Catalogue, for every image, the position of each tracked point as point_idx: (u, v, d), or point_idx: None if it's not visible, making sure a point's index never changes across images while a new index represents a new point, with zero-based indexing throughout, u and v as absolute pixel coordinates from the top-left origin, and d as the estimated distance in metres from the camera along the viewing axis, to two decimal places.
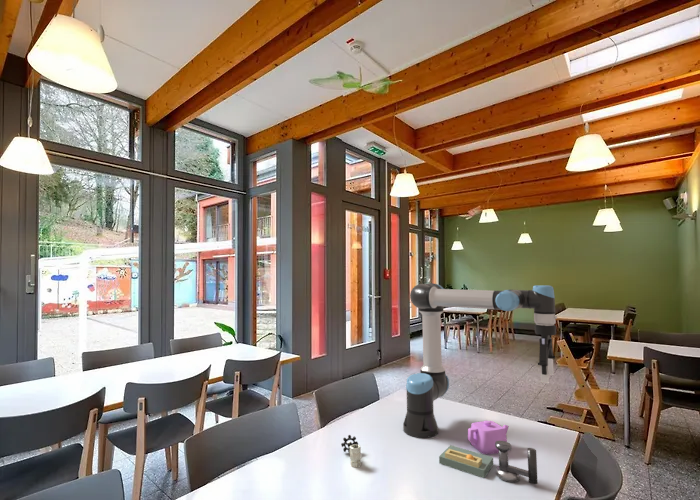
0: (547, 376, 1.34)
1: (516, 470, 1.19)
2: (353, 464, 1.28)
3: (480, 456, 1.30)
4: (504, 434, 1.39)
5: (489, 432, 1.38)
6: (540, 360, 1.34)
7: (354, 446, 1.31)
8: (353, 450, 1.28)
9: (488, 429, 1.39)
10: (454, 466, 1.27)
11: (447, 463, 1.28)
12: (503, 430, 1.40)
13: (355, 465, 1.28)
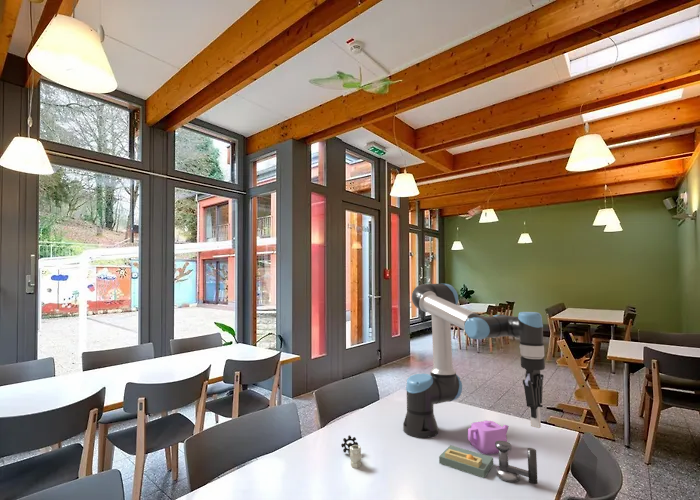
0: None
1: (516, 470, 1.19)
2: (353, 465, 1.27)
3: (480, 456, 1.30)
4: (504, 434, 1.39)
5: (489, 432, 1.38)
6: None
7: (354, 447, 1.30)
8: (353, 451, 1.28)
9: (488, 429, 1.39)
10: (454, 466, 1.27)
11: (447, 463, 1.28)
12: (503, 430, 1.40)
13: (355, 466, 1.27)
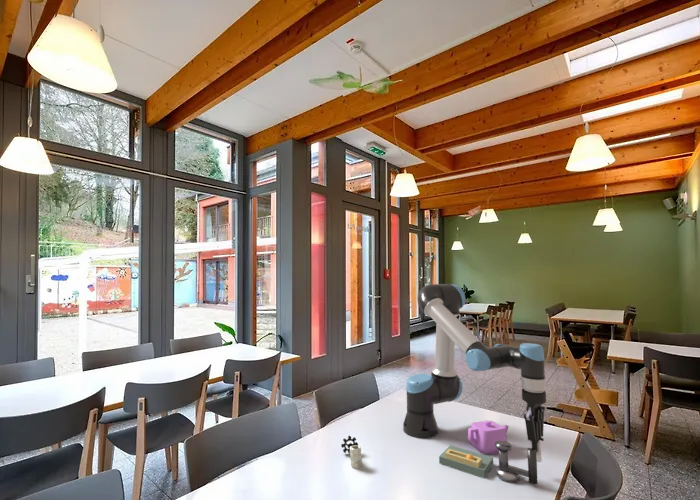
0: None
1: (516, 470, 1.19)
2: (353, 465, 1.27)
3: (480, 456, 1.30)
4: (504, 434, 1.39)
5: (489, 432, 1.38)
6: None
7: (354, 447, 1.30)
8: (353, 451, 1.28)
9: (488, 429, 1.39)
10: (454, 466, 1.27)
11: (447, 463, 1.28)
12: (503, 430, 1.39)
13: (355, 466, 1.27)
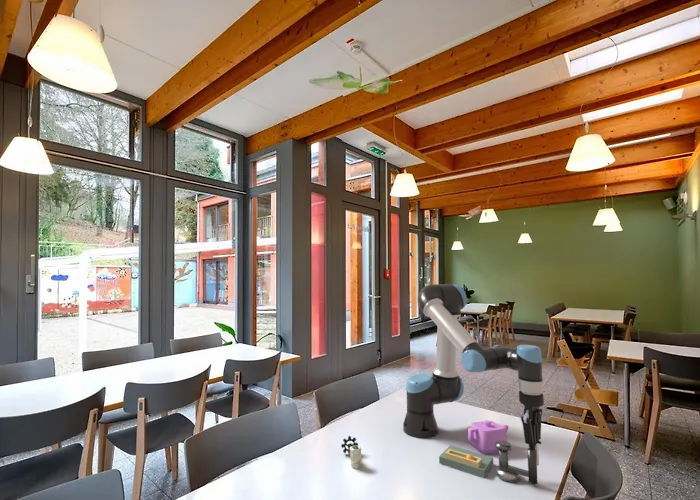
0: None
1: (516, 470, 1.19)
2: (354, 465, 1.27)
3: (480, 456, 1.30)
4: (504, 434, 1.39)
5: (489, 432, 1.38)
6: None
7: (354, 447, 1.30)
8: (354, 451, 1.27)
9: (488, 429, 1.39)
10: (454, 466, 1.27)
11: (447, 463, 1.28)
12: (503, 430, 1.39)
13: (355, 466, 1.27)
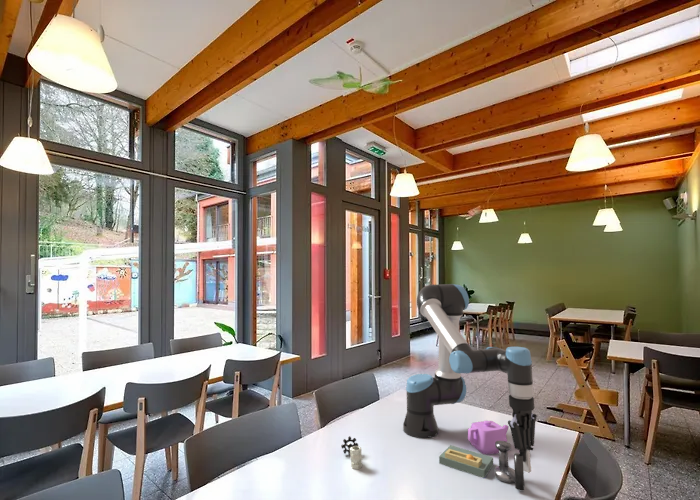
0: None
1: (508, 472, 1.18)
2: (354, 466, 1.27)
3: (480, 456, 1.30)
4: (504, 434, 1.39)
5: (489, 432, 1.38)
6: None
7: (355, 448, 1.30)
8: (354, 452, 1.27)
9: (488, 429, 1.39)
10: (454, 466, 1.27)
11: (447, 463, 1.28)
12: (503, 430, 1.39)
13: (356, 467, 1.26)
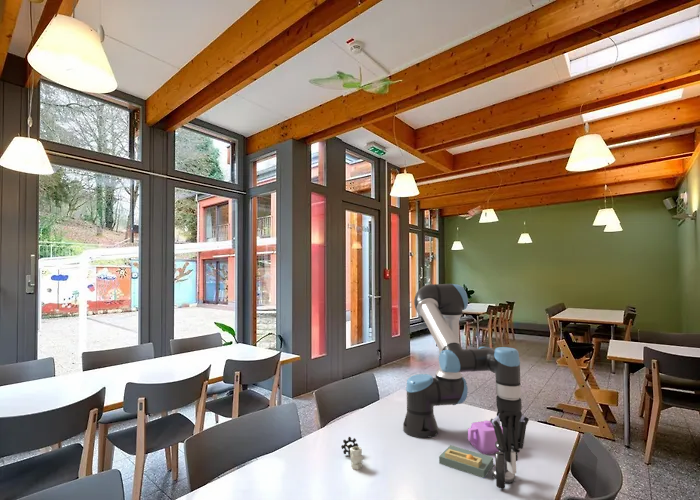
0: None
1: None
2: (354, 466, 1.26)
3: (480, 456, 1.30)
4: None
5: (489, 432, 1.38)
6: None
7: (355, 448, 1.29)
8: (354, 452, 1.27)
9: (488, 429, 1.39)
10: (454, 466, 1.27)
11: (447, 463, 1.28)
12: None
13: (356, 467, 1.26)
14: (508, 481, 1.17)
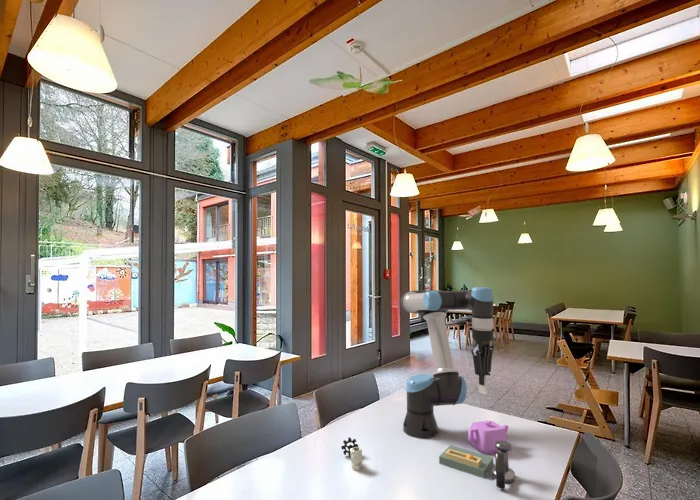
0: None
1: None
2: (354, 467, 1.26)
3: (480, 456, 1.30)
4: (504, 434, 1.39)
5: (490, 432, 1.38)
6: None
7: (355, 449, 1.29)
8: (354, 453, 1.26)
9: (488, 429, 1.39)
10: (454, 466, 1.27)
11: (447, 463, 1.28)
12: (503, 430, 1.40)
13: (356, 468, 1.26)
14: (508, 481, 1.17)
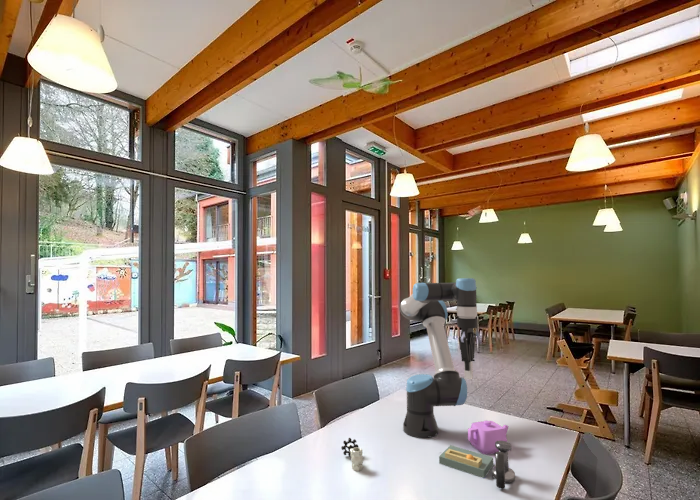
0: None
1: None
2: (355, 468, 1.25)
3: (480, 456, 1.30)
4: (504, 434, 1.39)
5: (489, 432, 1.38)
6: None
7: (355, 449, 1.29)
8: (355, 453, 1.26)
9: (488, 429, 1.39)
10: (454, 466, 1.27)
11: (447, 463, 1.28)
12: (503, 430, 1.40)
13: (356, 468, 1.25)
14: (508, 481, 1.17)
